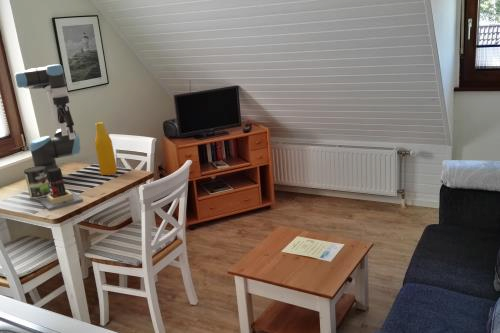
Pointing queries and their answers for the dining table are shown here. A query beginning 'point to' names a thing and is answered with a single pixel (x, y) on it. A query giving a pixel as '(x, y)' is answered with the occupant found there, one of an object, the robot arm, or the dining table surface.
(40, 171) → the coffee can
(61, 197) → the hub board
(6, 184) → the dining table surface
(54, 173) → the deodorant
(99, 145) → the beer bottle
